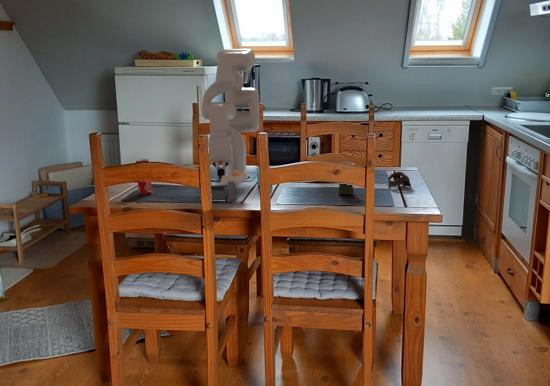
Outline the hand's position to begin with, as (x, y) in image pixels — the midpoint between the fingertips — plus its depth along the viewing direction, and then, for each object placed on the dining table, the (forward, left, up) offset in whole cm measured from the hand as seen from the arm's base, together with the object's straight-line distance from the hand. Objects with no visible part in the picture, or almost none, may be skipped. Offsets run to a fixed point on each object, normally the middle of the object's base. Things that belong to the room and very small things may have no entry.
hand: (221, 177), depth 245 cm
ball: (+7, +7, +3) cm, 10 cm away
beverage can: (-6, -33, -8) cm, 35 cm away
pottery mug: (-5, +76, -8) cm, 76 cm away
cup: (+7, -1, -7) cm, 10 cm away
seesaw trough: (+4, +5, 0) cm, 6 cm away
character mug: (+5, +52, -8) cm, 52 cm away
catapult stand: (+7, +5, -7) cm, 11 cm away
